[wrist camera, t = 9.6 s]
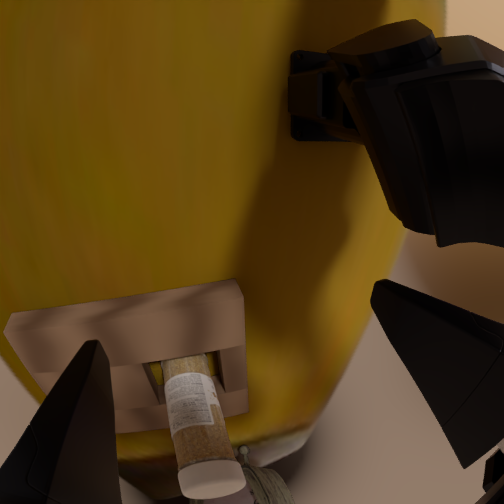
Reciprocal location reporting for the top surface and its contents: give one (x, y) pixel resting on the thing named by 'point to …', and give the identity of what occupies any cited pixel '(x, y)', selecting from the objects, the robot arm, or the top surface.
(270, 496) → the tabletop clock
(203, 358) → the sprinkles bottle
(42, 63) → the top surface
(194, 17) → the top surface
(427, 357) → the robot arm
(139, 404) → the wooden board
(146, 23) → the top surface
